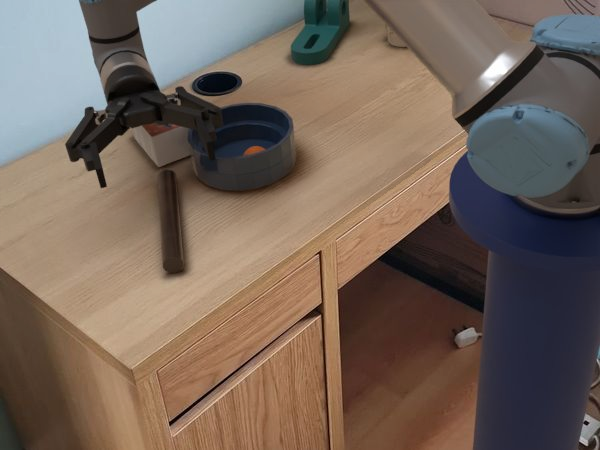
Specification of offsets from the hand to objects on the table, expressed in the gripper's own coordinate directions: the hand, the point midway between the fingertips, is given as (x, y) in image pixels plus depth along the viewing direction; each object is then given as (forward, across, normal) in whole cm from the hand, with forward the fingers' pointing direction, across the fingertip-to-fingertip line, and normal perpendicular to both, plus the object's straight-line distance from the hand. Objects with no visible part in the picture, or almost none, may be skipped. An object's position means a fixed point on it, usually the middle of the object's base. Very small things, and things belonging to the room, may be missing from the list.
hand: (157, 164), depth 96 cm
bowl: (-14, -13, -12) cm, 23 cm away
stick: (+6, +1, -11) cm, 13 cm away
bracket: (-48, -37, -12) cm, 62 cm away
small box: (-30, -3, -10) cm, 32 cm away
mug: (-39, -52, -12) cm, 66 cm away
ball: (-10, -14, -10) cm, 20 cm away
